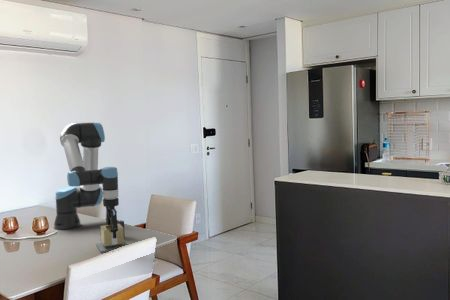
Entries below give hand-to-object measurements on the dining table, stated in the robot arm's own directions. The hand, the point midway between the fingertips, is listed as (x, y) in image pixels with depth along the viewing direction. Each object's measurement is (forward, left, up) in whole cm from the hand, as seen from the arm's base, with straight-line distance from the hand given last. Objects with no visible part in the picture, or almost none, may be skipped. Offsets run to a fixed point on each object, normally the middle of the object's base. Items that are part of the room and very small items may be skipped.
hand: (112, 241), depth 210 cm
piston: (0, 0, -3) cm, 3 cm away
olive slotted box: (0, 0, 0) cm, 0 cm away
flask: (-16, +5, -3) cm, 17 cm away
